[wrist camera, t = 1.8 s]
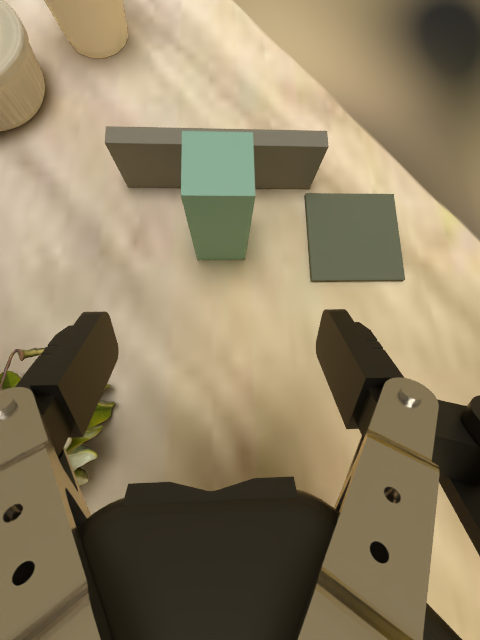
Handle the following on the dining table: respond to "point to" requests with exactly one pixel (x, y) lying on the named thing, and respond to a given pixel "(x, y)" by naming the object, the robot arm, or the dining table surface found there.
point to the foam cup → (92, 25)
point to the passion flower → (74, 444)
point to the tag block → (218, 191)
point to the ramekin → (17, 72)
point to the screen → (166, 143)
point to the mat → (353, 237)
